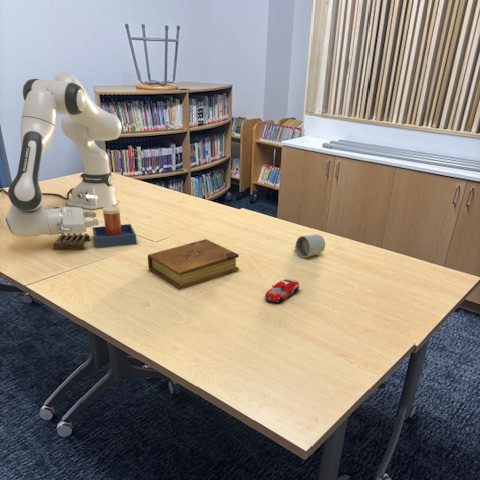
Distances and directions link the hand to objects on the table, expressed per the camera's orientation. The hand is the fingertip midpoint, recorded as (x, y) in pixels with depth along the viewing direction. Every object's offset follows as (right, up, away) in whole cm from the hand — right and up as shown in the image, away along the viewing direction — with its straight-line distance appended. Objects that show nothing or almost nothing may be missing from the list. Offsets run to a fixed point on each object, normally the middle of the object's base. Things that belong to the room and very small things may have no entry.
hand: (97, 218), depth 174 cm
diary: (+37, -21, -16) cm, 45 cm away
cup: (+5, -6, +6) cm, 10 cm away
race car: (+65, -30, -31) cm, 78 cm away
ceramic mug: (+76, -14, -2) cm, 77 cm away
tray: (+5, -7, +6) cm, 11 cm away
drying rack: (-10, -9, +2) cm, 14 cm away
